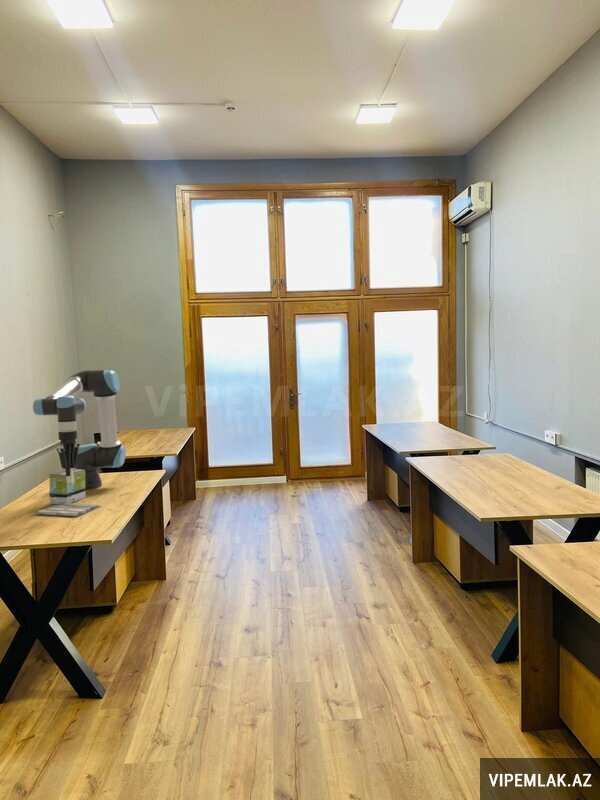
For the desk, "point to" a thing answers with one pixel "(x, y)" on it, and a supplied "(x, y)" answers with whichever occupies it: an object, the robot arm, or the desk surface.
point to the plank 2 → (72, 512)
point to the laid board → (76, 506)
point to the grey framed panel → (68, 516)
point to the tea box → (67, 487)
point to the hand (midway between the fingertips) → (70, 482)
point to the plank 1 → (50, 511)
